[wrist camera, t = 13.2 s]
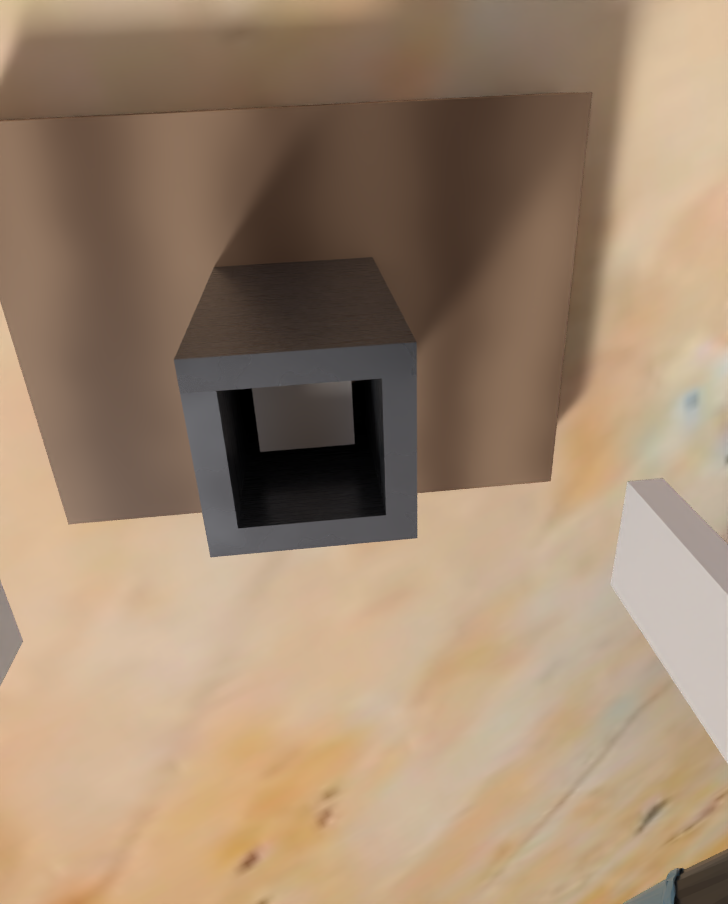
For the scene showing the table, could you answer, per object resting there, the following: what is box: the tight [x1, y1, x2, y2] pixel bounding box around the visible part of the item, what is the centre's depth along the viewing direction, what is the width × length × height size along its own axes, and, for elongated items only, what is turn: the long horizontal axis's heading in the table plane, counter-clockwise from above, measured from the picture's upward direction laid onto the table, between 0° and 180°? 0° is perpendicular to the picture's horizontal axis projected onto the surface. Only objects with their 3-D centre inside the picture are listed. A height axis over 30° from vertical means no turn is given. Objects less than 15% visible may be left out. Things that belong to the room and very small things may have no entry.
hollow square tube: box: [174, 257, 417, 557], centre depth 22 cm, size 6×6×10 cm
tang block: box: [0, 93, 592, 524], centre depth 25 cm, size 22×16×10 cm
